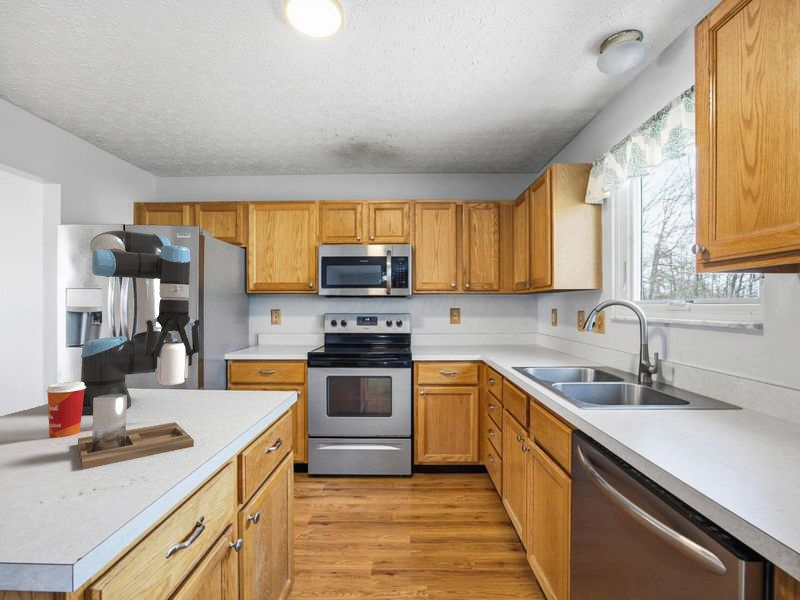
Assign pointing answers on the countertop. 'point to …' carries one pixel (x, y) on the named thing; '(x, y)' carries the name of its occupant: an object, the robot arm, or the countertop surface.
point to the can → (172, 363)
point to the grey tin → (109, 422)
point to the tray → (136, 445)
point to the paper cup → (65, 408)
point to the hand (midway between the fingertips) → (171, 378)
